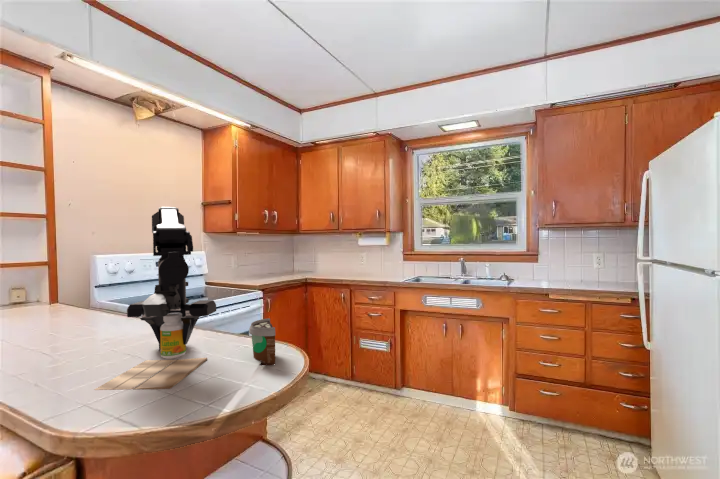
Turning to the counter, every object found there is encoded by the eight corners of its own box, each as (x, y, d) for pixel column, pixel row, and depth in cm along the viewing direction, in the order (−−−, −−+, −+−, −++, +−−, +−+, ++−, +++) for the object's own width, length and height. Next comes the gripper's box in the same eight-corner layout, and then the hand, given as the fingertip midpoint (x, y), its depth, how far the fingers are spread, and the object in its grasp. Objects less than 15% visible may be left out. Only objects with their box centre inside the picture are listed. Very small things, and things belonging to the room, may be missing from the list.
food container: (248, 355, 100) (247, 319, 100) (270, 352, 102) (269, 317, 102) (250, 370, 88) (250, 330, 88) (276, 366, 90) (275, 327, 90)
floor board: (145, 364, 93) (145, 360, 93) (176, 364, 93) (175, 359, 93) (94, 395, 75) (94, 389, 75) (131, 394, 75) (131, 388, 75)
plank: (177, 364, 93) (177, 359, 93) (207, 362, 93) (207, 357, 93) (133, 394, 75) (132, 388, 75) (170, 391, 75) (170, 385, 75)
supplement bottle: (157, 360, 81) (157, 317, 81) (163, 352, 86) (163, 312, 86) (183, 357, 82) (182, 315, 82) (188, 350, 88) (187, 311, 88)
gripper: (109, 284, 76) (110, 356, 76) (195, 283, 76) (196, 355, 76) (141, 278, 87) (142, 341, 87) (216, 277, 87) (217, 340, 87)
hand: (173, 344), depth 84 cm, fingers closed on supplement bottle, 5 cm apart
